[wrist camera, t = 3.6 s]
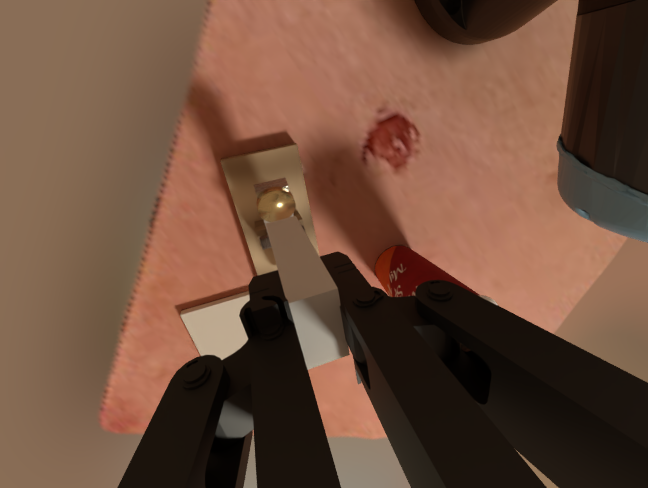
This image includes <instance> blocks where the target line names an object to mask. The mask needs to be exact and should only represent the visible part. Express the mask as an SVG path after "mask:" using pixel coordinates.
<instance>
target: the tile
mask: <svg viewBox="0 0 648 488" xmlns="http://www.w3.org/2000/svg"><path fill="white" fill-rule="evenodd" d="M249 300H250V299H249V291H247V292H243V293H240V294H237V295H233V296H230V297H226V298H223V299H219V300H216V301H213V302H209V303H206V304H202V305H199V306H195V307H192V308H189V309H185V310H182V311H181V314H180V316H181V318H182V320H183V322H184V324H185V326H186V328H187V330H188V332H189V333H190V335H191V337H192V339H193V341H194V343H195V345H196V347H197V349H198V351H199V353H200V355H201V356H203V355H215V356H217V357H219V358H221V360H223V359H224V358H226V357H228V356H230V355H231V354H233V353H234V352H236V351H237V350H239V349H240V348H241V347H242V346H243V345H244V344H245V343H246V342H247V340H248V337H247V335H246V332H245V329H244V327H243V324H242V322H241V319H240V317H239V314H240V311H241V308H242V307H243V306H244V305H245V304H246V303H247V302H248V301H249Z"/></svg>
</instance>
